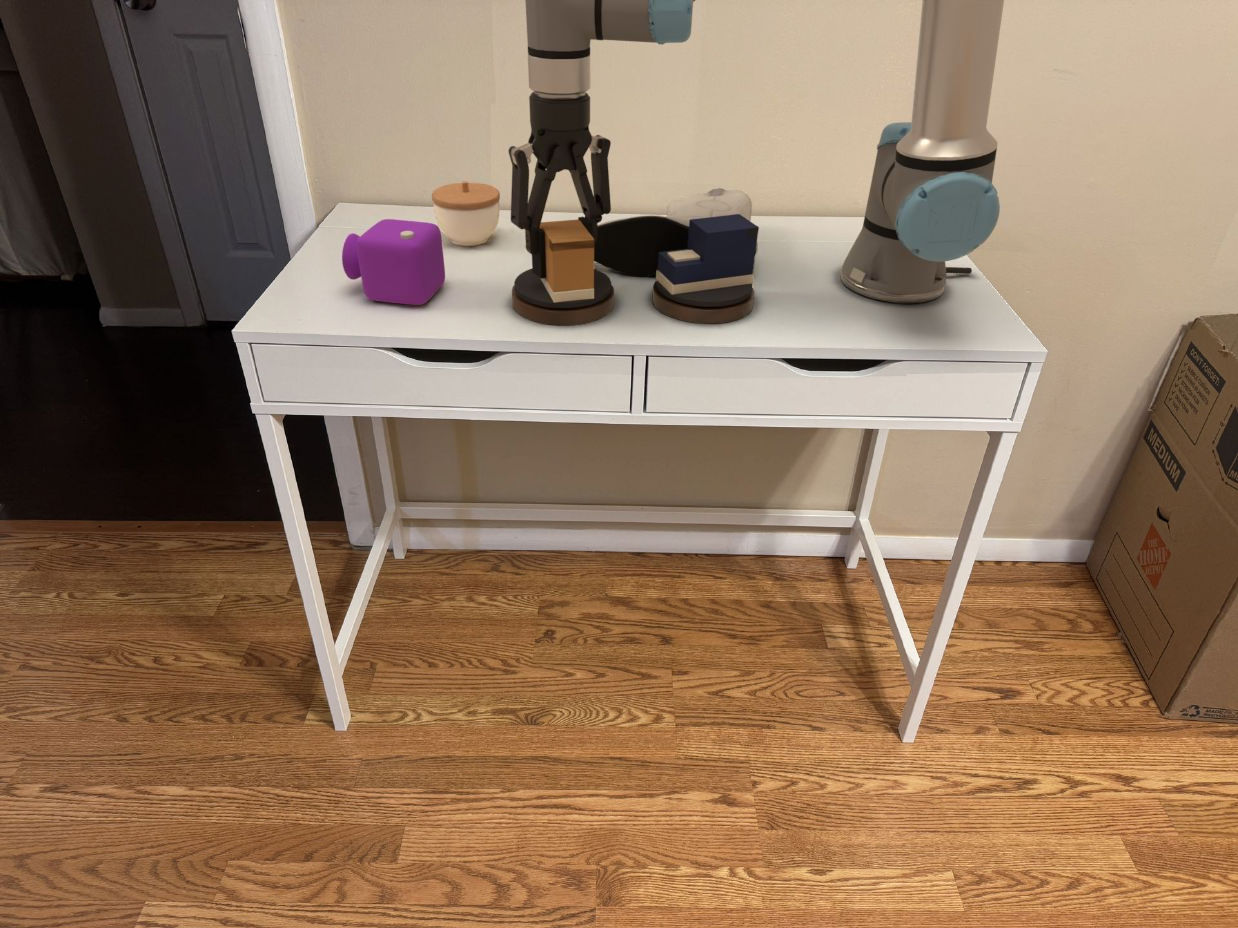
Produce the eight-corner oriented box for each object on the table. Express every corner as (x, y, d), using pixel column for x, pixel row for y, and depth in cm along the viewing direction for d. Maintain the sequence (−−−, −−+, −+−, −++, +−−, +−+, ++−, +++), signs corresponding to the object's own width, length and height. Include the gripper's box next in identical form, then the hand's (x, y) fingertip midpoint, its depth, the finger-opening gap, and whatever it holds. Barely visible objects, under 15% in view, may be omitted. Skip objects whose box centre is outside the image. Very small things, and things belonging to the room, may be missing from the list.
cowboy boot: (763, 235, 120) (764, 185, 140) (576, 206, 121) (603, 160, 142) (750, 296, 125) (752, 239, 146) (571, 267, 127) (598, 214, 147)
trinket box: (426, 235, 139) (419, 178, 133) (484, 224, 144) (480, 169, 138) (453, 256, 131) (447, 196, 126) (513, 244, 136) (510, 186, 131)
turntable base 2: (742, 281, 126) (743, 268, 125) (762, 323, 114) (764, 310, 113) (647, 282, 125) (648, 269, 124) (658, 324, 113) (659, 311, 112)
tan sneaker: (623, 302, 113) (625, 238, 108) (525, 313, 110) (522, 247, 105) (596, 265, 124) (597, 205, 119) (506, 273, 121) (502, 212, 115)
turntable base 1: (610, 282, 125) (610, 269, 124) (617, 325, 113) (617, 311, 112) (513, 282, 124) (513, 270, 122) (510, 326, 112) (510, 312, 111)
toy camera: (358, 276, 124) (346, 210, 118) (449, 278, 124) (443, 212, 118) (337, 307, 115) (324, 237, 110) (436, 309, 115) (428, 240, 110)
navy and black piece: (724, 263, 126) (731, 204, 120) (769, 299, 115) (778, 236, 110) (641, 274, 122) (644, 213, 116) (680, 312, 111) (684, 248, 106)
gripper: (612, 79, 109) (609, 249, 122) (473, 93, 101) (486, 273, 114) (642, 91, 104) (636, 266, 117) (499, 106, 95) (510, 293, 109)
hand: (562, 269), depth 116 cm, fingers closed on tan sneaker, 7 cm apart
